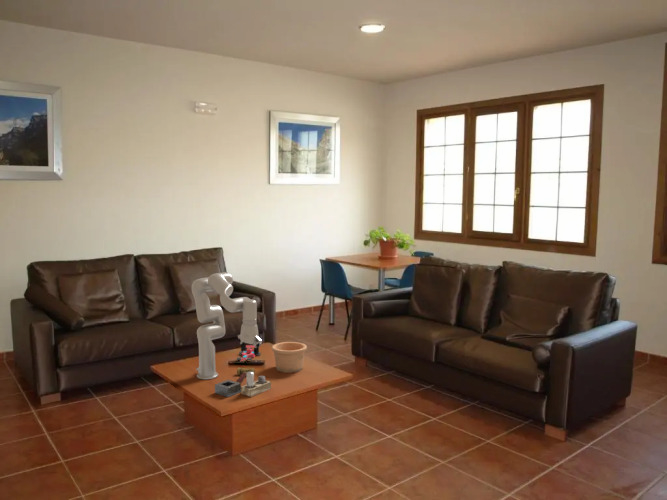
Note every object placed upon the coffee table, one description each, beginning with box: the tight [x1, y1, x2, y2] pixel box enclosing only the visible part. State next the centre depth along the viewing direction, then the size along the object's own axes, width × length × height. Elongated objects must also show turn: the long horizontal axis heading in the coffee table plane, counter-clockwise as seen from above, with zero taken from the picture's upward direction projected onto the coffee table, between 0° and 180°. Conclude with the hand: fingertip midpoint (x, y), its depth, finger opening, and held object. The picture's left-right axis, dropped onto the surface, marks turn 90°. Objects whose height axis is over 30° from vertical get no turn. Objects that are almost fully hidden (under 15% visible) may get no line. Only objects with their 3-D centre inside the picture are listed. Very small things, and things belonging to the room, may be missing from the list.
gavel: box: [236, 367, 256, 384], centre depth 341 cm, size 21×5×10 cm
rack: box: [240, 375, 272, 398], centre depth 321 cm, size 8×16×7 cm, turn 144°
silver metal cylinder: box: [246, 371, 255, 389], centre depth 317 cm, size 4×4×12 cm
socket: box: [214, 379, 242, 398], centre depth 319 cm, size 10×10×5 cm
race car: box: [236, 344, 261, 362], centre depth 382 cm, size 14×6×25 cm
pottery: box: [271, 341, 308, 374], centre depth 361 cm, size 22×22×14 cm
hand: (249, 352), depth 316 cm, fingers open, 9 cm apart
